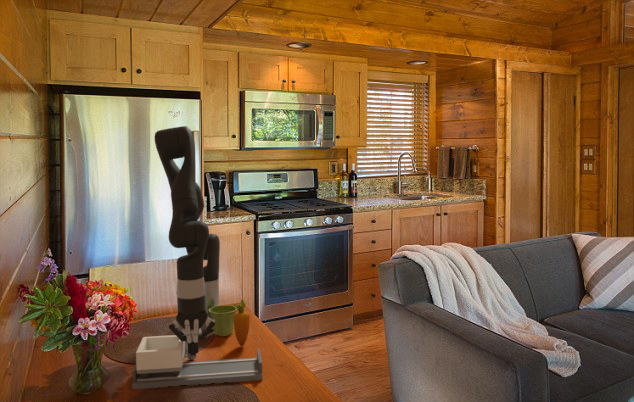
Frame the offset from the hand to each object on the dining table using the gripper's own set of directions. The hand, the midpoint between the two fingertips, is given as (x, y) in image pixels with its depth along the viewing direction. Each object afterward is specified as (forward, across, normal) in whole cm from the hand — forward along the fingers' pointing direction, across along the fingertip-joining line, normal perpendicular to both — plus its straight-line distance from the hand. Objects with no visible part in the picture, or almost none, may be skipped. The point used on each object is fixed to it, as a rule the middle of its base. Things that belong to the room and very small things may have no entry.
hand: (193, 354), depth 143 cm
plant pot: (+6, -8, -32) cm, 33 cm away
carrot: (+6, -14, -19) cm, 24 cm away
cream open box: (+4, +8, 0) cm, 9 cm away
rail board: (+6, -2, 0) cm, 6 cm away
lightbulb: (+6, +1, -11) cm, 13 cm away
